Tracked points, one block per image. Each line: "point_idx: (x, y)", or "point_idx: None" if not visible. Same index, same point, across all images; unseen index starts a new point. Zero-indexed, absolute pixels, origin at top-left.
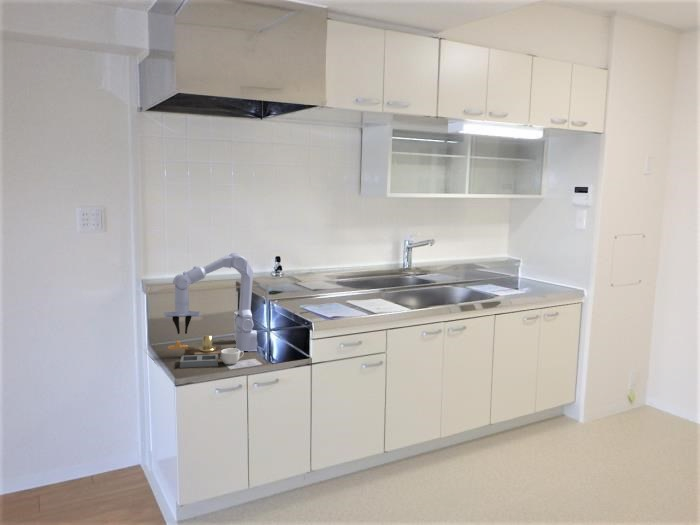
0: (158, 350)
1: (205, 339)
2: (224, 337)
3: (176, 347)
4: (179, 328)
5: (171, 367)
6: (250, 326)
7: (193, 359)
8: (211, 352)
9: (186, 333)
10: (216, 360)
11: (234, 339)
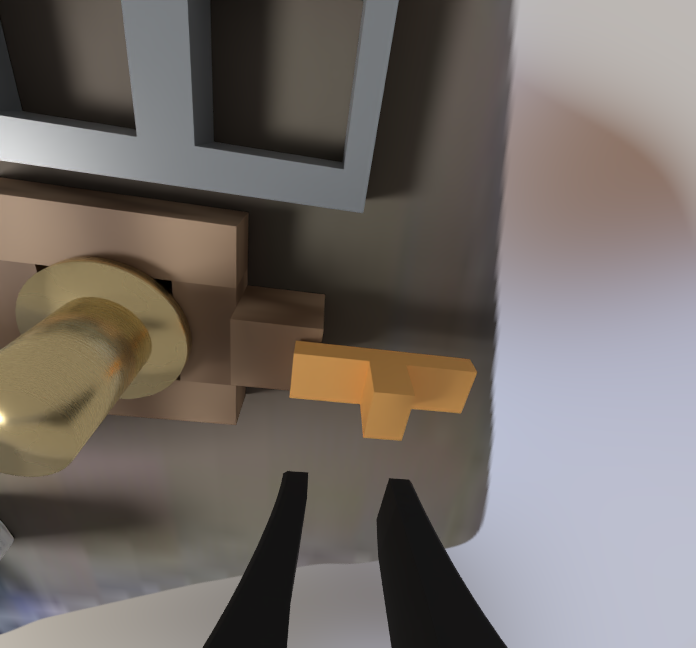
0: (472, 470)
1: (45, 366)
2: (94, 584)
3: (400, 361)
4: (384, 587)
5: (484, 10)
6: None
7: (246, 149)
8: (54, 241)
9: (287, 474)
10: None
11: (4, 543)
